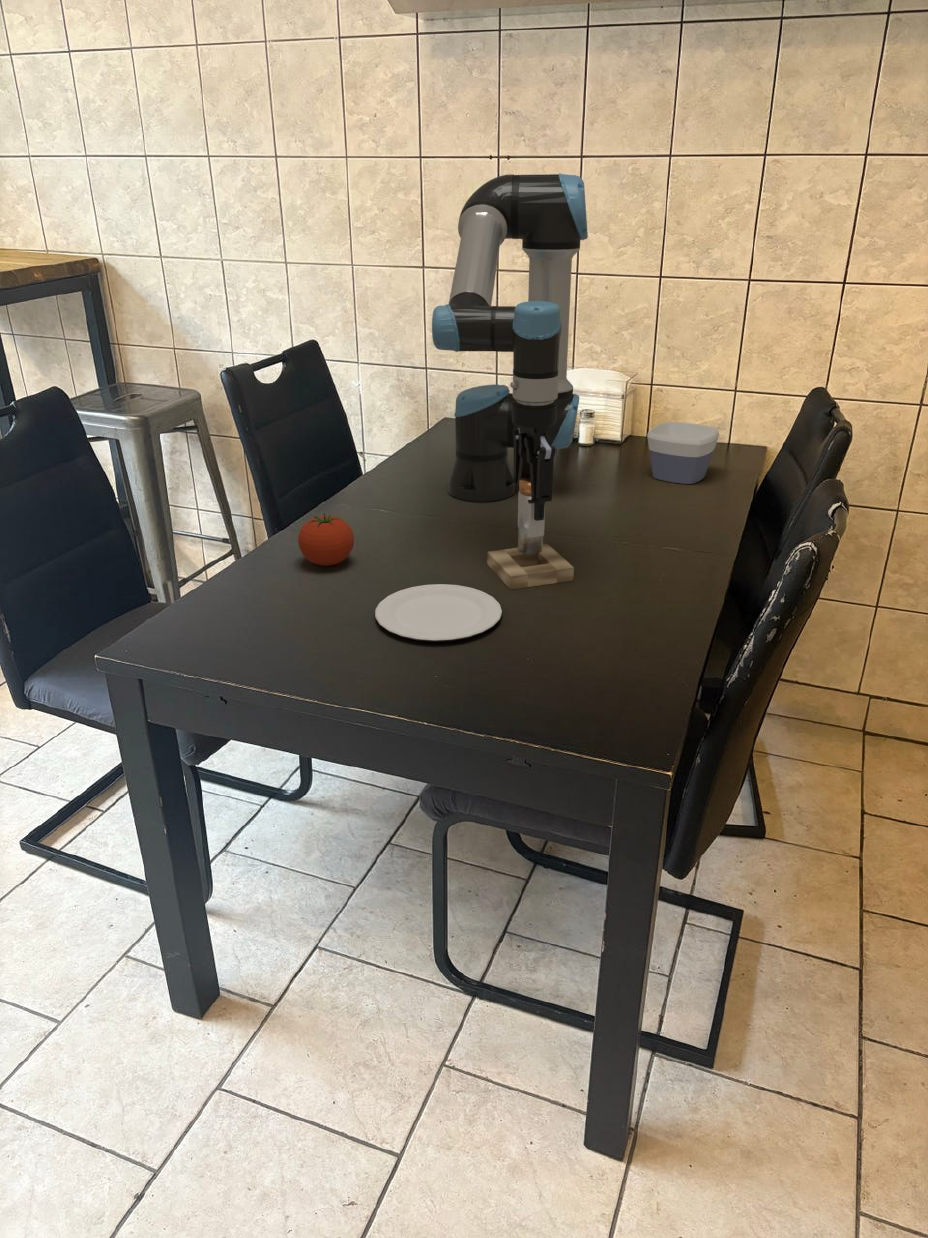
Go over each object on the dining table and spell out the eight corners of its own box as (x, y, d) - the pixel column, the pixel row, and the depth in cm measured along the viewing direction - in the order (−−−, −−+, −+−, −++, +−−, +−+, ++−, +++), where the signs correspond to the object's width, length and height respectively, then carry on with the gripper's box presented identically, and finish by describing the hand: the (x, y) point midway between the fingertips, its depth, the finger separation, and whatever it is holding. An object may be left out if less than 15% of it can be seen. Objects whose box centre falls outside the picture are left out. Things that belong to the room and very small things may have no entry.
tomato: (333, 549, 176) (329, 499, 172) (366, 563, 170) (363, 512, 165) (289, 563, 170) (284, 513, 166) (322, 579, 163) (318, 527, 159)
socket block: (487, 564, 169) (487, 551, 168) (546, 556, 173) (547, 543, 172) (510, 589, 159) (510, 576, 158) (573, 580, 163) (573, 567, 161)
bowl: (721, 473, 218) (726, 427, 213) (699, 490, 207) (704, 442, 202) (660, 463, 226) (664, 418, 221) (635, 479, 214) (639, 433, 209)
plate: (458, 661, 137) (458, 651, 136) (349, 628, 147) (348, 618, 146) (524, 609, 153) (524, 600, 152) (422, 582, 163) (422, 574, 162)
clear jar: (514, 546, 166) (515, 477, 160) (536, 543, 167) (539, 475, 161) (523, 555, 162) (525, 485, 156) (546, 552, 163) (549, 483, 157)
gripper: (495, 390, 158) (494, 516, 169) (533, 414, 144) (529, 551, 154) (535, 386, 160) (531, 511, 171) (577, 410, 146) (570, 545, 156)
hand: (530, 530), depth 163 cm, fingers closed on clear jar, 4 cm apart
